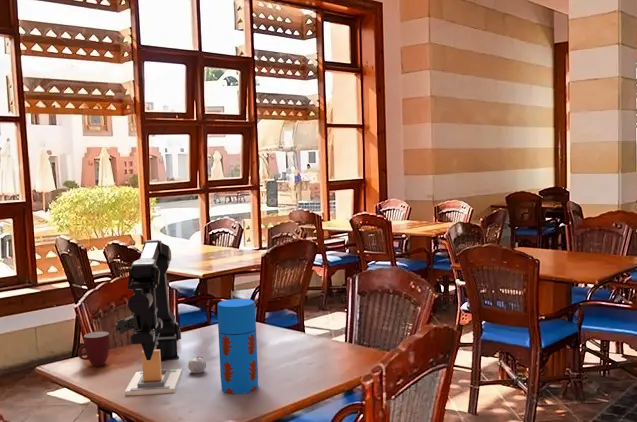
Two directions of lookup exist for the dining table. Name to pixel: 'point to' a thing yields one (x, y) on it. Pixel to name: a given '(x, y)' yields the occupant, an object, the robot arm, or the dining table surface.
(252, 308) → the thermos
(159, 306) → the robot arm
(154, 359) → the orange upright block
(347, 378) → the dining table surface
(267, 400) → the dining table surface
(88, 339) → the mug
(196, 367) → the garlic
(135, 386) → the panel
